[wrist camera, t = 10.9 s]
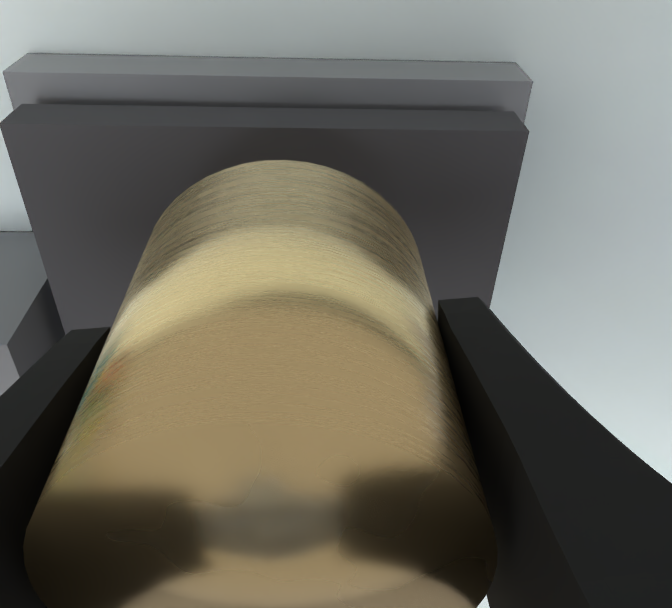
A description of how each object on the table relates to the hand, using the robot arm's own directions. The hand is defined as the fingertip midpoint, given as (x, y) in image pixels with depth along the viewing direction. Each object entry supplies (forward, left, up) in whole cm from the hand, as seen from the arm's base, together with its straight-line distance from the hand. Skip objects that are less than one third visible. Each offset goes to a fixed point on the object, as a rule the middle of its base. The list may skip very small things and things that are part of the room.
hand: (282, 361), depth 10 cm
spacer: (0, 0, -2) cm, 2 cm away
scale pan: (0, +6, -6) cm, 8 cm away
